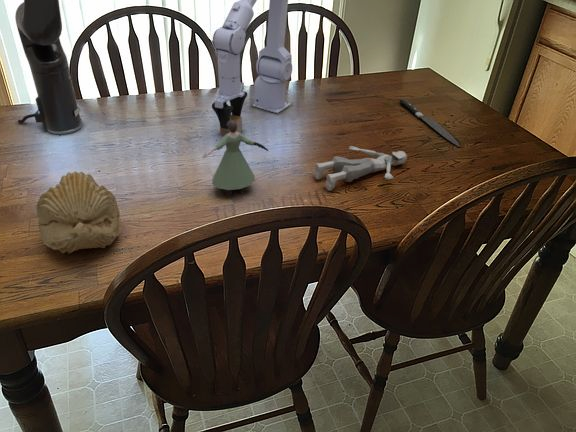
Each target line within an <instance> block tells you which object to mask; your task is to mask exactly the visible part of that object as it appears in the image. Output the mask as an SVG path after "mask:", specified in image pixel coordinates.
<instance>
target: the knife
mask: <svg viewBox="0 0 576 432" xmlns="http://www.w3.org/2000/svg"><path fill="white" fill-rule="evenodd" d="M398 101H399V103H400V104H402V105H403V106H404V107H405V108H406V109H407V110H409V111H410V112H411V113H412V114H413V115H414V116H416V118H418V119H421V120H422V121H423V122H425V123H426V124H427V125H428V126H429V127H430V128H432V129H433V130H434V131H435V132H436V133H438V134H439V135H441V136H442V137H443V138H445V139H446V140H447V141H449V143H451V144H453V145H455V146H457V147H461V145H460V143H459V142H458V141H457V140H456V138H455V137H454V136H453V135H452V134H450V132H448V130H446V129H445V128H444V127H443V126H441V125H440V124H439V123H438V122H437V121H436V120H435V119H433V118H432V117H430V116H429V117H428V116H425V115H424V114H423V113H422V112H421V111H420V110H419V109H418V108H417V107H415V106H414V105H413V104H412V103H411V101H410V100H408V99H404V98H399V99H398Z"/></svg>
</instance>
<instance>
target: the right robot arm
mask: <svg viewBox="0 0 576 432" xmlns="http://www.w3.org/2000/svg"><path fill="white" fill-rule="evenodd" d="M257 1H258V0H237V1H234V3H233V4H232V5H231V8H230V10H229V12H228V14H227V16H226V18H225V20H224V22H223V24H222V26H220V27H219V28H216V29H215V30H214V31H213V35H212V39H211V46H212V47H213V49H214V51H215V56H216V58H217V72H218V91H217V96H216V98H215V99H214V102H213V103H212V104H211V108H212V110H213V111H214V113H215V115H216V117H217V120H218V123H219V127H220V126H221V128H224V129H228V126H227V125H226V124H227V122H228V121H230V116H231V115H236V116H241V115H242V110H243V107H244V103H245V101H246V98H247V96H248V92H247V91H244V90H245V83H244V82H242V81H241V52H242V51H243V49H244V47H245V42H246V41H245V39H246V36H247V33H246V32H247V29H248V28H249V25H250V23H251V22H252V19H253V17H254V15H255V13H254V9H253V8H254V6H255V4H256V3H257ZM288 7H289V0H269V5H268V16H267V17H268V19H267V30H266V31H267V34H266V46H265V47H262V49H261V50H260V51H258V57H257V60H256V63H255V70H256V73H257V74H258V76H257V77H256V79H255V80H254V85H253V103H252V107H254V108H258V109H261V110H265V111H267V112H271V113H275V114H279V113H281V112H282V111H284V110H285V109H287V108H288V107H290V106H291V103H289V102H286V89H287V88H286V86H287V81H288V80H289V79H290V78H291V76H292V74H293V63H292V62H293V61H292V53H291V52H290V51H288V49H286V48H285V40H286V38H285V37H286V29H287V19H288ZM227 102H229V104H230V105H229V104H228V103H227ZM241 117H242V116H241Z"/></svg>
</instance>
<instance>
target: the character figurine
mask: <svg viewBox="0 0 576 432" xmlns="http://www.w3.org/2000/svg"><path fill="white" fill-rule="evenodd" d="M226 125H227V126H228V129H229V130H230V132H229V133H228V134H226V135H225V136H224V135H223V136H222V138H221V140H220V141H219V143H218V144H216V145H215V146H214V147H213V148H211V149H208V151H206V153H204V155H203V156H202V158H203V159H206V158H207V157H208V156H210V155H211V154H212V153H213V152H215V151H219V150H222V149H223V147H225V148H226V149H225V151H224V153H223V155H222V157H221V159H220V162H219V163H218V166H217V168H216V169H215V171H214V175H213V176H212V179H211V181H212V182H211V184H212V185H213V186H214V187H216V188H217V189H221V190H224V192H225V193H226V195H228V196H231V195H232V193H233V192H232V191H233V190H238V192H240V193H244V192H245V188H247V187H250V186H251V185H252V184H253V183H254V182H255V181H256V177H255V174H254V172H253V170H252V169H251V167H250V165H249V163H248V162H247V160H246V158H245V156H244V155H243V152H242V151H241V149H240V145H241V142H242V143H245V145H248V146H257V147H258V148H261V149H263V150H265V151H267V152H270V151H269V149H268V148H267V147H265V146H264V145H263V144H261V143H259V142H256V141H253V140H252V139H249V138H247V137H246V136H245V135H243V133H242V132H241V133H239V132H236V130H237V124H236V122H235V121H234V120H230V121H228V122H227V124H226Z"/></svg>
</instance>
